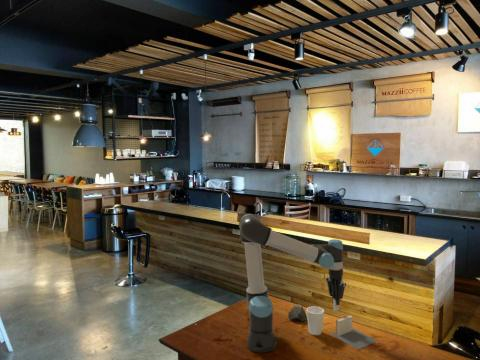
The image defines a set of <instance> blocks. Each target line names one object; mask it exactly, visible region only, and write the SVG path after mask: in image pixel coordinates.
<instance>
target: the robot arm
mask: <svg viewBox="0 0 480 360" xmlns="http://www.w3.org/2000/svg"><path fill="white" fill-rule="evenodd" d="M238 228H239V233H240V241H241V243H242V244H244V254H245V264H246V273H247V284H248V286H247V288H246V290H245V291H246V299H245V300H246V304H247V309H248V313H249V332H248V335H247V338H246V347H247V348H248V350H250V351H252V352H254V353H259V354H260V353H261V354H262V353H263V354H264V353H265V354H266V353H270V352H272V351H273V350H275V349H276V347H277V338H276V336H275V333H274V329H273V328H274V326H273V325H274V324H273V323H274V321H273V320H274V315H273V313H274V311H273V310H274V304H273V301H272V299H271V298H270V297H269V291H268V287H267V286H266V284H265V280H264V279H265V278H264V268H263V267H264V266H263V258H262V248H261V246H263V247H265V246H269V247H272V248H275V249H276V250H280V251H282V252H285V253H288V254H290V255H293V256H295V257H299V258H302V259H304V260H306V261H309V262H312V263H314V264H317V265H319V266H320V267H322V268H324V269H328V277H326V278H325V280H326V282H327V288H328V294H329V296H330V297H331V299H332V308H333V309H332V310H333V311H335V312H336V311H340V306H339V305H340V302H341V301H340V300H343V297H344V292H345V288H346V286H347V283H346V282H344V281H343V279H344V278H343V276H344V269H343V268H344V266H343V265H344V246H343V241H342V240H340V239H335V238H333V239H329V240H328V241H327V242H328V243H325V244H308V243H305V242H303V241H301V240H298V239H296V238H293V237H290V236H287V235H285V234H282V233H279V232H277V231H274V230H273V228H272V227H270V226H267V225H266V224H263V222H262V221H261V219H260V218H259V216H257V214H256V215H255V214H252V213H247V214H245V215H242V217H240V220H239V223H238Z"/></svg>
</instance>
